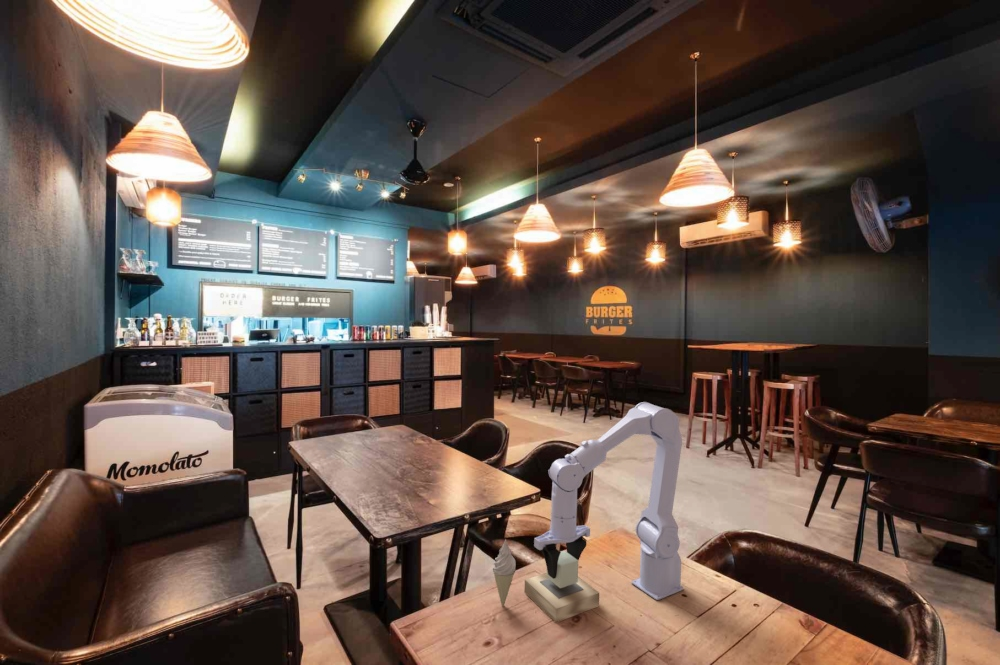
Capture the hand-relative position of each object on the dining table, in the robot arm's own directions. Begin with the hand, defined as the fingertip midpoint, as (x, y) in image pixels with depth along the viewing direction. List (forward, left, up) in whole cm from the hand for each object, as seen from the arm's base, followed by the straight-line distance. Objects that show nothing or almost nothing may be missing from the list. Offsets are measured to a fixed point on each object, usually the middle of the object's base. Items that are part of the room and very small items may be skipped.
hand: (561, 573), depth 103 cm
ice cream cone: (+13, -4, -6) cm, 15 cm away
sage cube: (0, 0, -1) cm, 1 cm away
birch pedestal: (0, 0, -6) cm, 6 cm away
